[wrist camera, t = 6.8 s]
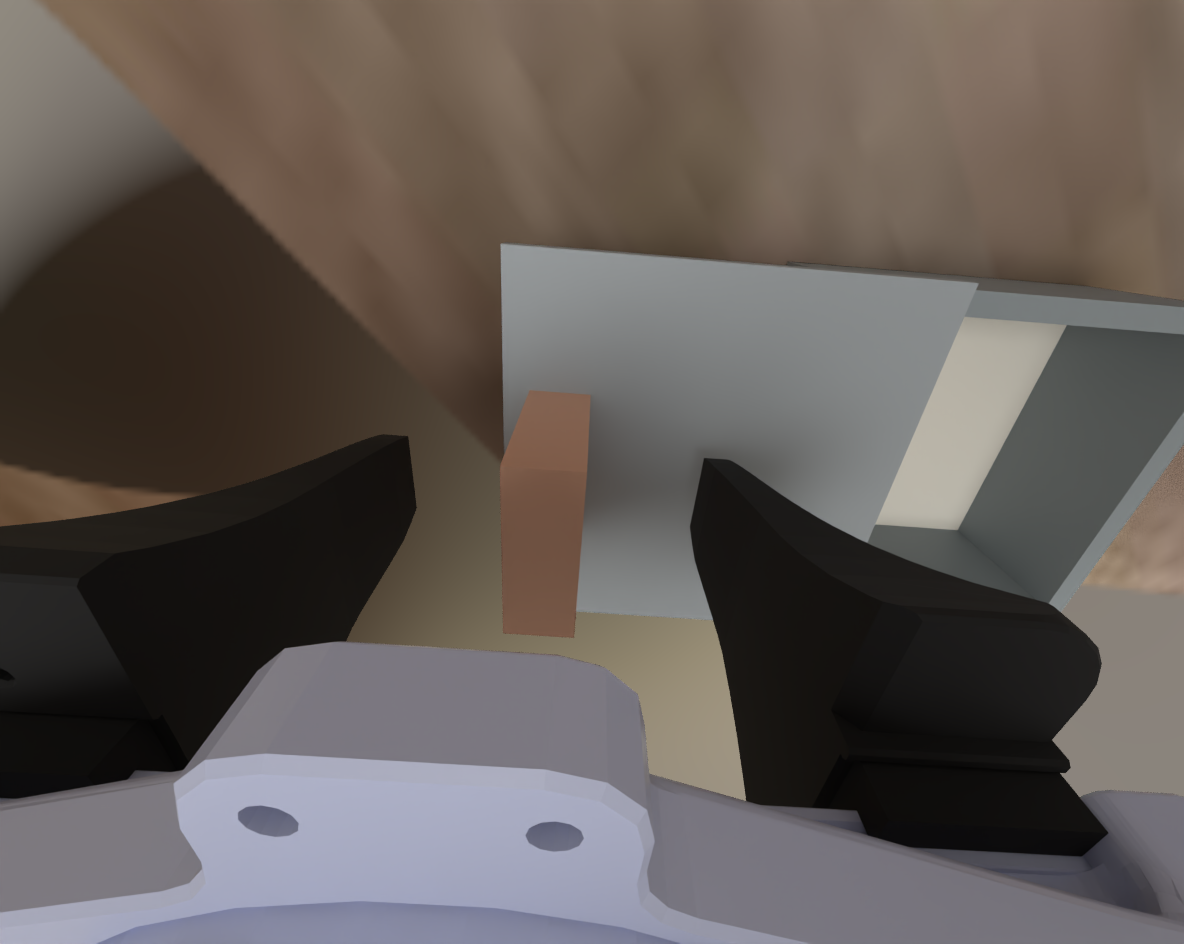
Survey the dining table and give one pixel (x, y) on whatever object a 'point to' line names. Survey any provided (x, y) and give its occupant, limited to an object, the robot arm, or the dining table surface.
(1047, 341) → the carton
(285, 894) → the robot arm
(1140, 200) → the dining table surface
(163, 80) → the dining table surface
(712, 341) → the lid
